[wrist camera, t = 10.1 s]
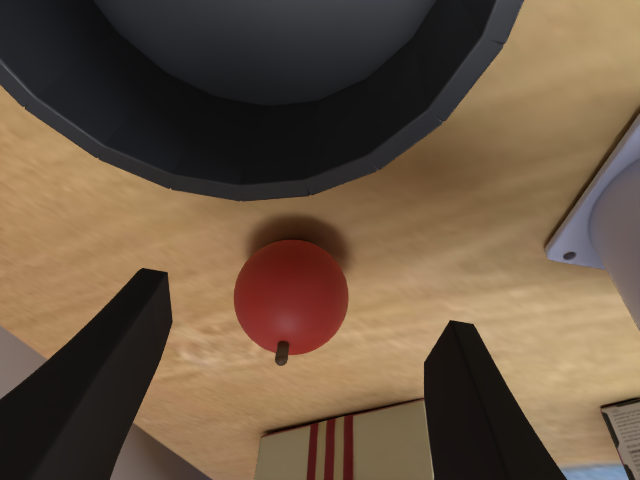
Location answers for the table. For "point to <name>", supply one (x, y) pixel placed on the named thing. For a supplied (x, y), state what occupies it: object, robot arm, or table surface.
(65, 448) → the robot arm
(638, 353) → the table surface
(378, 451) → the gift box
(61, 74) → the pan
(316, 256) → the apple
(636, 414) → the candy bar box
